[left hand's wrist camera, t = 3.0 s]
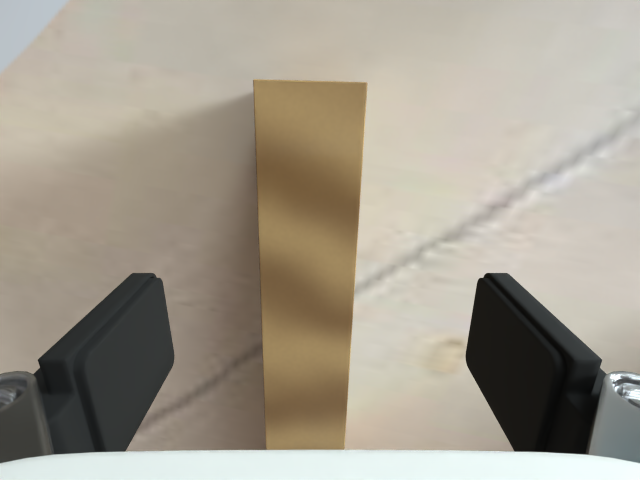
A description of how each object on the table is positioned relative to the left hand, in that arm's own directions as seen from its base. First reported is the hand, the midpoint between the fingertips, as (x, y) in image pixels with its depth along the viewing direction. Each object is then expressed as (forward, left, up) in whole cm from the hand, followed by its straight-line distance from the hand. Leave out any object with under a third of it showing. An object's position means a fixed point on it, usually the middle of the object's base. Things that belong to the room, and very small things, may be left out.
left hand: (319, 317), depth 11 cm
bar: (+20, +14, -16) cm, 29 cm away
